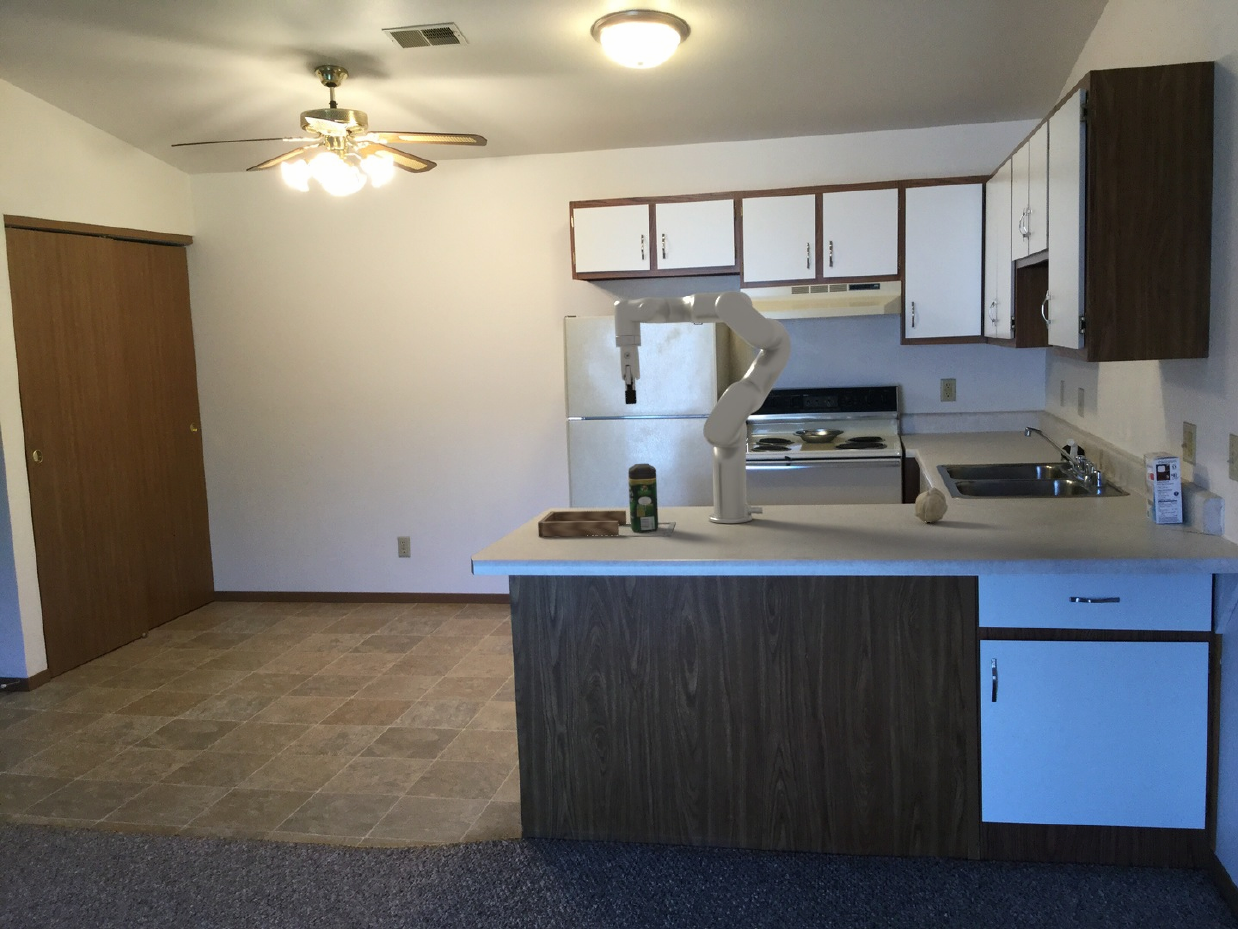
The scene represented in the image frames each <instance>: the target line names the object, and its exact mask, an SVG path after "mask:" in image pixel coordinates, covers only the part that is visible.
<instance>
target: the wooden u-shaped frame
mask: <svg viewBox="0 0 1238 929" xmlns="http://www.w3.org/2000/svg"><path fill="white" fill-rule="evenodd" d="M626 523H627V510H626V509H625V510H621V509H620V510H568V511H567V510H561V511H560V510H558V511H557V510H555V511H553V510H551V511H550V512H548V513H547V514H546V515H545V516H544V517H543V518H542V519H541V520H539V521H538V522H537V528H538V537H539V536H575V537H596V536H595V535H598V536H597V537H606V536H605V535H608V536H607V537H615V536H614V535H620V532H619V531H620V530H619V528H620V527H619V526H620V525H618V524H626ZM626 525H627V524H626ZM587 535H588V536H587ZM592 535H594V536H592ZM601 535H603V536H601ZM611 535H613V536H611Z"/></svg>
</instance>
